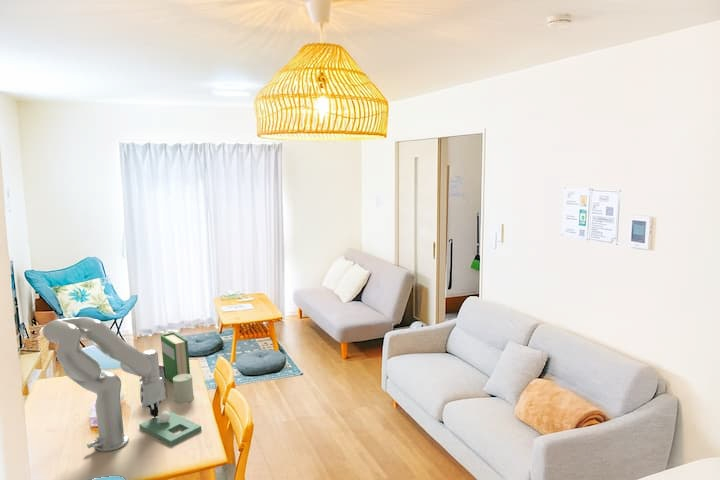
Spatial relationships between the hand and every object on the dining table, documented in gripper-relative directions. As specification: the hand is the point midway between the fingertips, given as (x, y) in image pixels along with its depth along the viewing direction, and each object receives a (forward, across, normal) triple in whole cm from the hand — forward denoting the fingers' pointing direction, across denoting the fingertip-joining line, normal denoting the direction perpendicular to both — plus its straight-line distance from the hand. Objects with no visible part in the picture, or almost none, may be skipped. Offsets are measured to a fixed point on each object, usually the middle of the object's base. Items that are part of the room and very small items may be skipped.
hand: (154, 415), depth 241 cm
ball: (-2, 0, -8) cm, 8 cm away
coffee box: (+3, +14, +21) cm, 26 cm away
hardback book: (+3, +32, +30) cm, 44 cm away
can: (+3, +21, +8) cm, 23 cm away
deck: (+3, 0, -12) cm, 12 cm away
